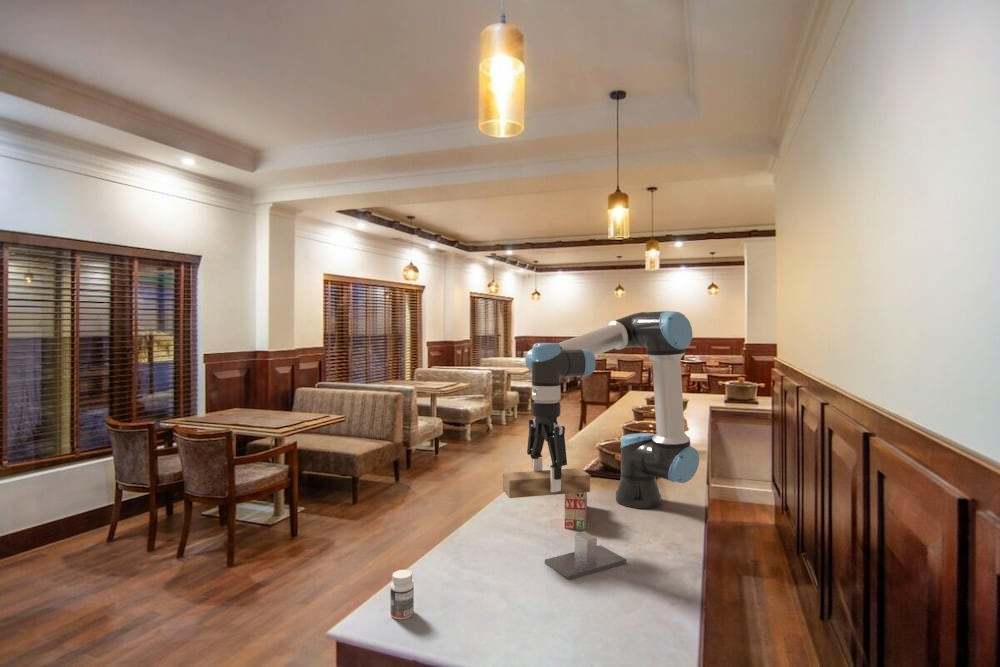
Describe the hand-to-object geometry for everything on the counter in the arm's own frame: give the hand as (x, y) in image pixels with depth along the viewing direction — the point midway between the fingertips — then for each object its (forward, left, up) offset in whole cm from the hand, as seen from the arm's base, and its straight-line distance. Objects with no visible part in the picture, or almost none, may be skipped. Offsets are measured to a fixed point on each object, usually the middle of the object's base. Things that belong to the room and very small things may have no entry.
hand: (546, 486), depth 140 cm
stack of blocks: (-23, -17, -18) cm, 33 cm away
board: (0, 0, -1) cm, 1 cm away
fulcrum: (-4, +11, -17) cm, 21 cm away
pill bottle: (+44, +11, -17) cm, 48 cm away
